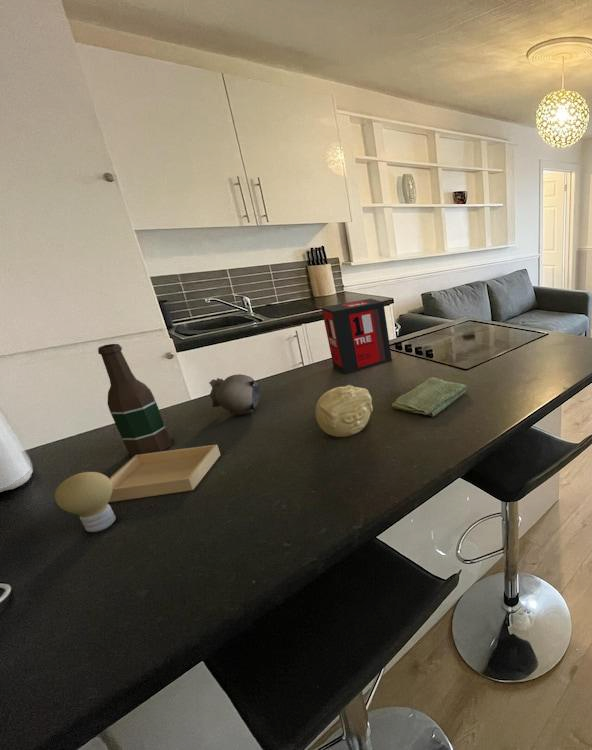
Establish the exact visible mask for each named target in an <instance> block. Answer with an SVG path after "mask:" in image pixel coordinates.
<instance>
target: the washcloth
mask: <svg viewBox="0 0 592 750" xmlns="http://www.w3.org/2000/svg"><path fill="white" fill-rule="evenodd" d="M467 389H468V387H467V385H466V384H463V383H458V382H453V381H446V380H443V379H441V378H437V377H430V378H428V379H427V380H426V381H424V382H423V383H420V384H418V385H417V386H415V387H414V388H412V389H411V390H409V391H408V392H406V393H404V394H402V395H399V396H398V397H397V398H396V399H395V400H394V401H393V402H392V404H391V407H394V409H396V410H401V411H404V412H410V413H414V414H421V415H424V416H430V417H435V416H437V415H439V413H440V412H442V411H444V410H445V408H447V407H448V406H450V405H451V404H452V403H453V402H455V401H456V400H458V399H459V398H460V397H462V395H464V394H465V393H466V391H467Z"/></svg>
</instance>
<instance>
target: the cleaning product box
mask: <svg viewBox="0 0 592 750" xmlns="http://www.w3.org/2000/svg"><path fill="white" fill-rule="evenodd" d="M321 313H322V315H323V316H322V317H323V322H324V327H325V332H326V337H327V342H328V346H329V351H330V356H331V360H332V365H333V368H334V369H336V370H338V371H339V372H340V373H342V374H344V375H347V374H350V373H353V372H356V371H357V372H358V371H360V370H363V369H367V368H371V367H374V366H378V365H381V364H384V363H388V362H391V361H393V359H392V352H391V344H390V337H389V332H388V331H389V330H388V324H387V317H386V311H385V304H384V301H381V300H378V299H375V298H366V299H360V300H356V301H355V300H354V301H349V302H344V303H338V304H332V305H327V306H321Z"/></svg>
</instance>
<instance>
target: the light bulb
mask: <svg viewBox="0 0 592 750" xmlns="http://www.w3.org/2000/svg"><path fill="white" fill-rule="evenodd" d="M109 478H110V477H108V476H107V475H105V474H103V473H101V472H97V471H83V472H79V473H75V474H73V475H71V476H70V477H68V478H66V479H65V480H64V481H62V482H61V483H60V484H59V485H57V488H56V489H55V492H54V500H55V503H56V504H57V505H58V507H59V508H60V509H62V510H63V511H65V512H68V513H70V514H74V515H77V516H79V520H80V521H81V524H82V525H83V527H84V529H85V531H86V532H89V533H97V532H100V531H103V530H106V529H108V528H109V527H110V526H112V525H113V523H115V522H116V515H115V513H114V511H113V509H112V506H111V505H110V504H109V502H108V501H109V499H110V497H111V494H112V490H113V486H112V483H111V481H110V479H109Z"/></svg>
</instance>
